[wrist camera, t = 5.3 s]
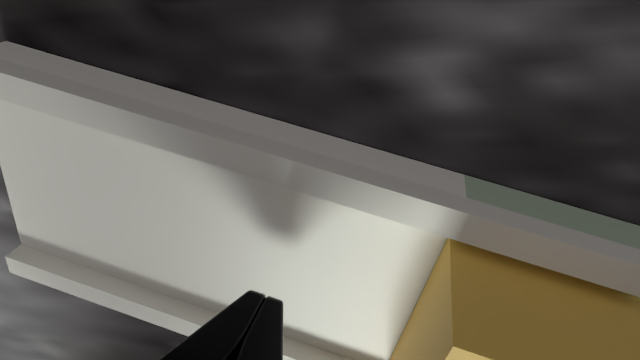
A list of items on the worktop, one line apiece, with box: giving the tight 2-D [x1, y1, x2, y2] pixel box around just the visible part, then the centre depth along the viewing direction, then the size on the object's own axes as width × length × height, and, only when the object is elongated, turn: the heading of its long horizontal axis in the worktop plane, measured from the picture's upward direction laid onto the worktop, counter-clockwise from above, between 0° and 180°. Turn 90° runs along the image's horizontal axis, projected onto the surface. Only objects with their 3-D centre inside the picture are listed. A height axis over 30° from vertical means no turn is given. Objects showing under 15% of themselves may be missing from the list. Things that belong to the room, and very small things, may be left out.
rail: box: [0, 41, 640, 360], centre depth 10 cm, size 7×18×4 cm, turn 78°
